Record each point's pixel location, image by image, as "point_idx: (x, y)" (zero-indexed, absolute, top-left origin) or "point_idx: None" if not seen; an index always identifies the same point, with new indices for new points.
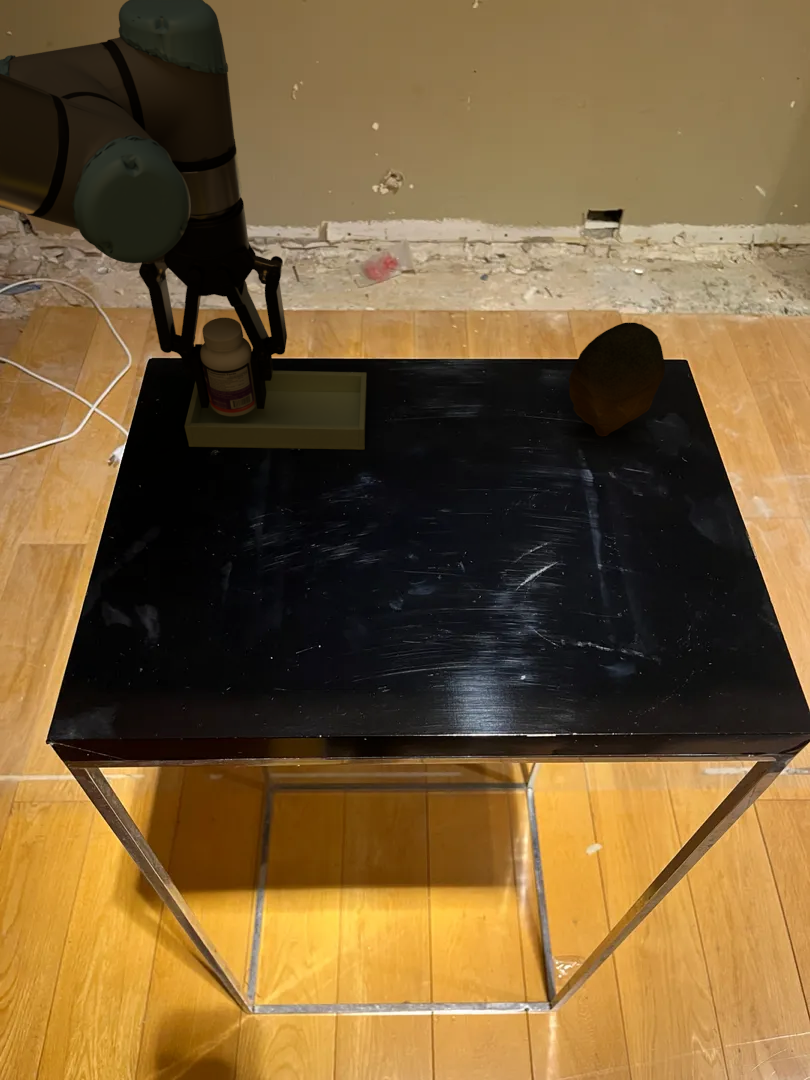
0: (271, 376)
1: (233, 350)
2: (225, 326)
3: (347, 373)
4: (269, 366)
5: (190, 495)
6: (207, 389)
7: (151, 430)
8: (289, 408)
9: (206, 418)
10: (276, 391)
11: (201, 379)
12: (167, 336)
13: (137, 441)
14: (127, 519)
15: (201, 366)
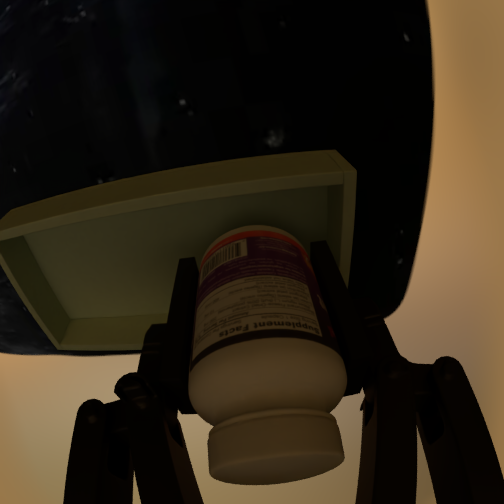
0: (145, 335)
1: (229, 413)
2: (268, 476)
3: (78, 347)
4: (141, 362)
5: (297, 5)
6: (316, 280)
7: (409, 189)
8: (155, 277)
9: (312, 228)
10: None
11: (335, 301)
12: (454, 411)
13: (428, 159)
14: None
15: (339, 338)
